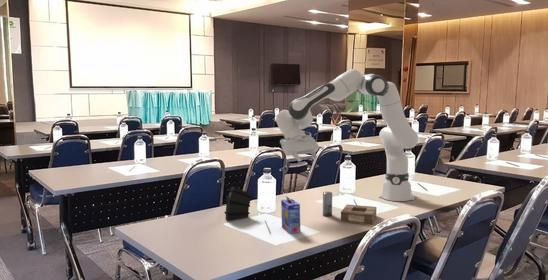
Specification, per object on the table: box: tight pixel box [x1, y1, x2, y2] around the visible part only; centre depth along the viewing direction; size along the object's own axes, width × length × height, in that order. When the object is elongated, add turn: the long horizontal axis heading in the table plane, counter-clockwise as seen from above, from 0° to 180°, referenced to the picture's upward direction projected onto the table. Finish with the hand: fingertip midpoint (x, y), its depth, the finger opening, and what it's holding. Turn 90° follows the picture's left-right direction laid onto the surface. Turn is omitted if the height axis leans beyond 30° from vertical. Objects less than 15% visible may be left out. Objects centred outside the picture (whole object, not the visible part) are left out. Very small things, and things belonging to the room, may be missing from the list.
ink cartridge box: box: [280, 196, 301, 234], centre depth 193 cm, size 10×6×14 cm, turn 18°
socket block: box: [340, 204, 377, 226], centre depth 208 cm, size 14×14×4 cm
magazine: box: [224, 186, 254, 222], centre depth 211 cm, size 4×13×15 cm, turn 122°
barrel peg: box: [322, 191, 333, 218], centre depth 214 cm, size 4×4×11 cm
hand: (307, 159), depth 220 cm, fingers open, 8 cm apart
